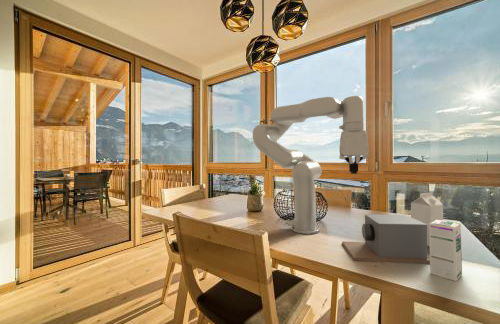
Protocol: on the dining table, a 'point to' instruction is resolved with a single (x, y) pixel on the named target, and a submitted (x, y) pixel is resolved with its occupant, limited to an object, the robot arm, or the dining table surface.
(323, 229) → the dining table surface
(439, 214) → the milk carton
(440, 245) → the syrup box
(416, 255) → the block
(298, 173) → the robot arm
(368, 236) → the shaft
